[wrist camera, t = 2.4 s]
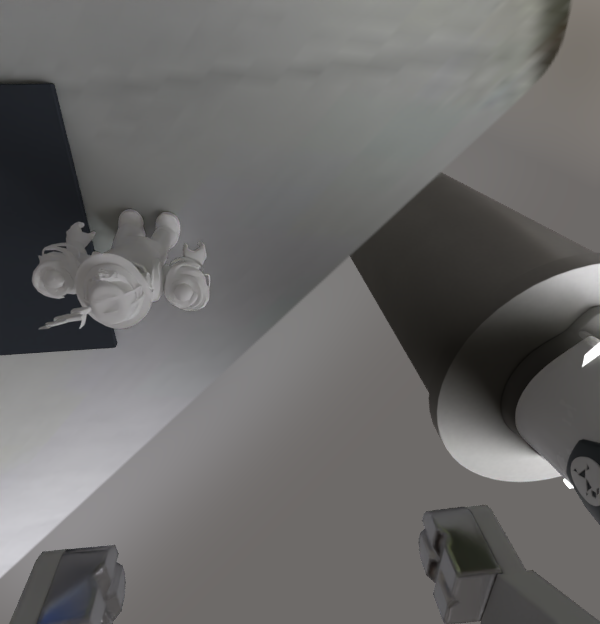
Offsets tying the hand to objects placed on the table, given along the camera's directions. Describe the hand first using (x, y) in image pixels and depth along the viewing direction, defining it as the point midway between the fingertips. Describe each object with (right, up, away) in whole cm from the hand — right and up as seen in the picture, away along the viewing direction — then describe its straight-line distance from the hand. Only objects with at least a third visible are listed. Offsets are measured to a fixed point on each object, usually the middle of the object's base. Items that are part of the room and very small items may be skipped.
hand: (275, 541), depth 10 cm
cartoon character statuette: (-10, +11, +20) cm, 25 cm away
